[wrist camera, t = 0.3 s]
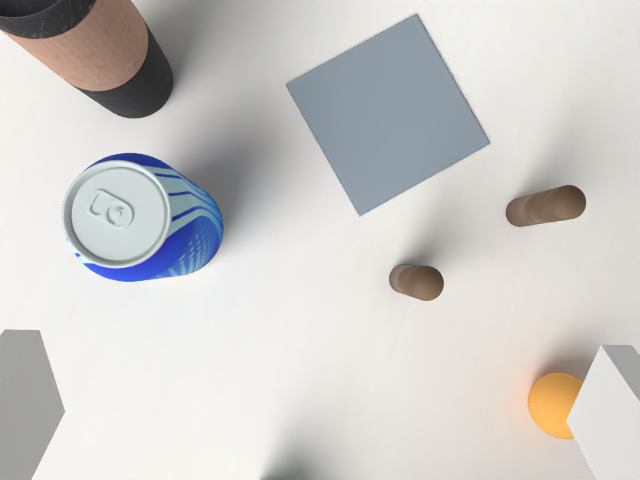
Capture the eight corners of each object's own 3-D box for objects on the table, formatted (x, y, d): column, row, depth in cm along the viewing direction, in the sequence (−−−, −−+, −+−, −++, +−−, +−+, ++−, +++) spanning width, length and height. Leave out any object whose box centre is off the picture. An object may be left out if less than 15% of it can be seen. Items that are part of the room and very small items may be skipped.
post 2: (538, 218, 48) (592, 208, 39) (514, 231, 48) (563, 225, 39) (524, 194, 48) (575, 179, 39) (500, 207, 48) (546, 195, 39)
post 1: (422, 284, 48) (449, 289, 39) (397, 298, 48) (420, 307, 39) (408, 259, 48) (432, 259, 39) (384, 273, 48) (402, 276, 39)
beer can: (205, 170, 47) (156, 124, 31) (239, 254, 47) (207, 252, 31) (119, 203, 47) (24, 175, 31) (152, 289, 47) (75, 304, 31)
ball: (587, 407, 48) (624, 427, 42) (536, 438, 48) (566, 461, 42) (557, 355, 48) (590, 368, 42) (506, 385, 48) (533, 402, 42)
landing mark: (488, 144, 48) (489, 143, 48) (359, 216, 48) (359, 216, 48) (415, 15, 49) (416, 14, 48) (285, 85, 48) (285, 84, 48)
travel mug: (126, 138, 47) (-2, 50, 27) (75, 73, 47) (-90, -63, 27) (193, 88, 48) (114, -36, 28) (142, 23, 48) (27, -147, 28)
